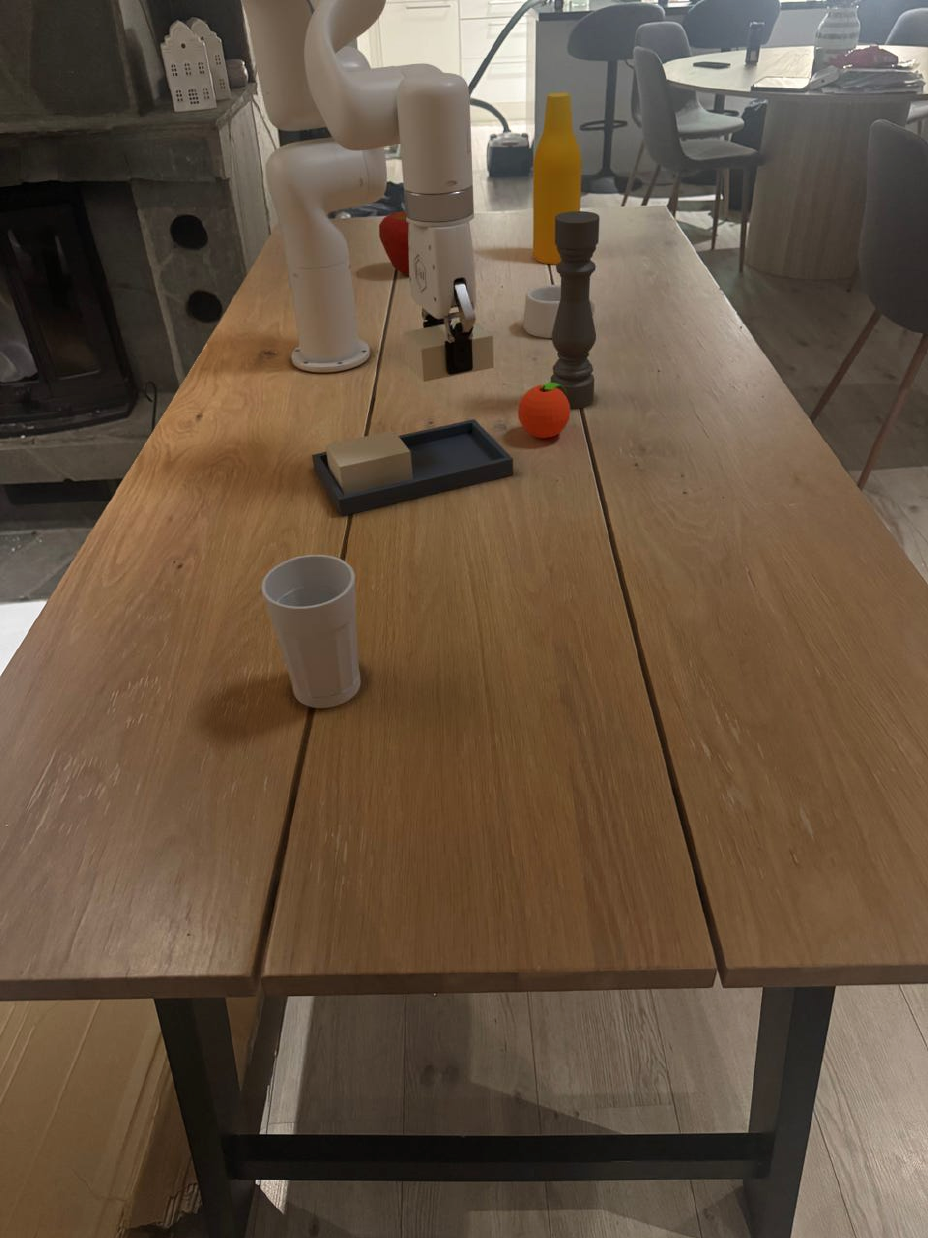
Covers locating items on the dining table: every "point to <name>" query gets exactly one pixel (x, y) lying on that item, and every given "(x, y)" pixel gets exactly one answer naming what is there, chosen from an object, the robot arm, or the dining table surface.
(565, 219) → the candle holder
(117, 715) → the dining table surface
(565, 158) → the beer bottle
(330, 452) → the block
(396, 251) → the apple
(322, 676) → the cup
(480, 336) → the beige rectangular block
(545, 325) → the mug
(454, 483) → the dark grey flat tray
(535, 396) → the clementine
